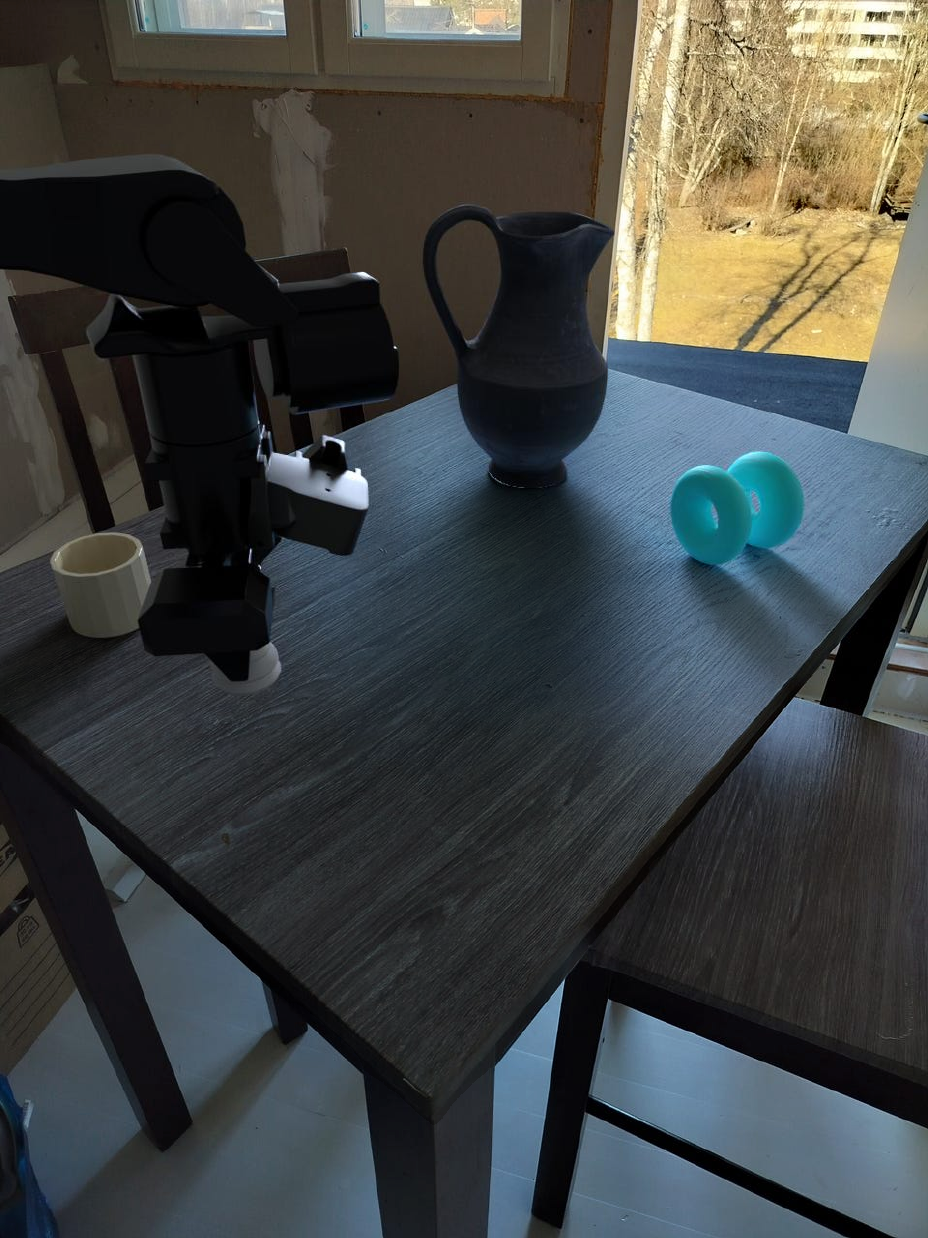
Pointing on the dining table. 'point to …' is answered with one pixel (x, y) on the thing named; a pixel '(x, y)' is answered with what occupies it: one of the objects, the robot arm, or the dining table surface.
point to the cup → (102, 583)
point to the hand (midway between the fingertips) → (243, 657)
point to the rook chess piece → (252, 673)
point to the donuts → (736, 507)
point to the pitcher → (529, 343)
